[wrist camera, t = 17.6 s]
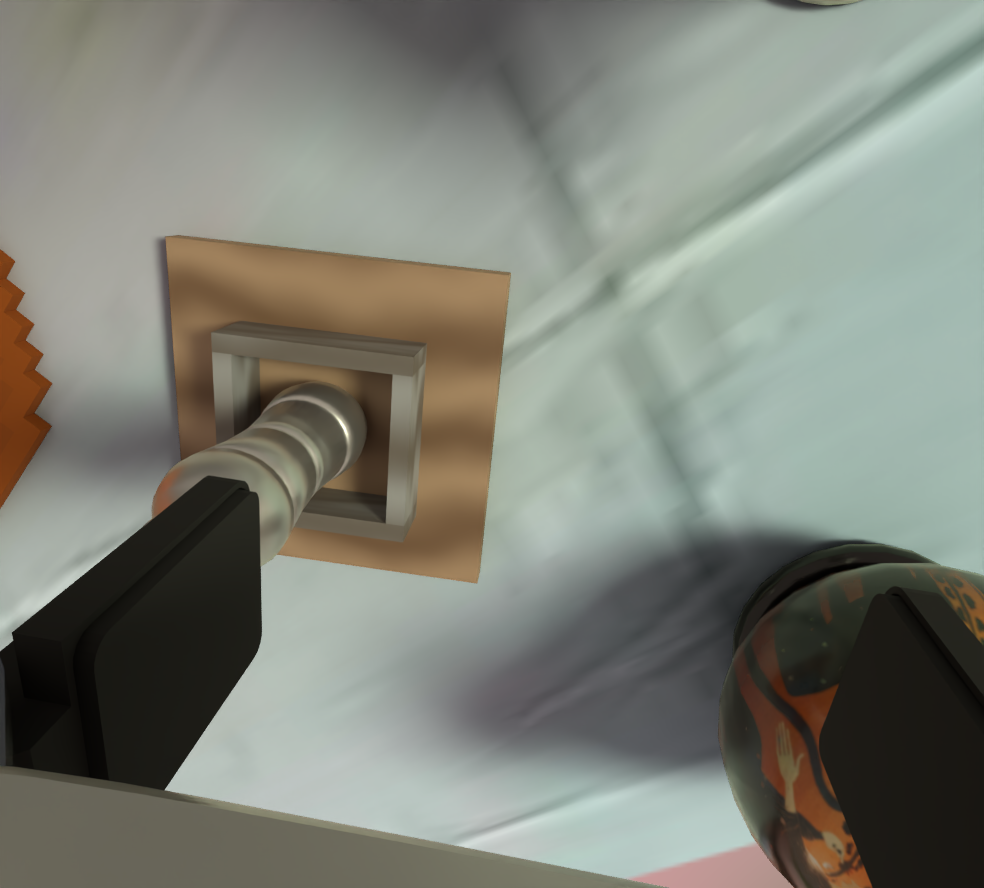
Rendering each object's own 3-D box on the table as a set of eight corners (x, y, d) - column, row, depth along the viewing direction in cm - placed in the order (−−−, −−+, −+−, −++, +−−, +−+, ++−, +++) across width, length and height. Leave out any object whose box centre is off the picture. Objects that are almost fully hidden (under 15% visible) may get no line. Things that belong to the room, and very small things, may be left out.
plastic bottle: (384, 457, 47) (260, 632, 29) (292, 468, 48) (115, 642, 30) (363, 366, 45) (215, 490, 27) (268, 380, 46) (61, 508, 28)
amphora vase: (837, 442, 45) (1200, 790, 19) (1080, 613, 47) (1706, 1134, 21) (634, 657, 53) (695, 1120, 26) (853, 796, 55) (1108, 1349, 29)
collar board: (178, 235, 45) (127, 241, 40) (510, 272, 44) (502, 283, 38) (196, 532, 53) (156, 568, 48) (479, 572, 51) (469, 615, 46)
